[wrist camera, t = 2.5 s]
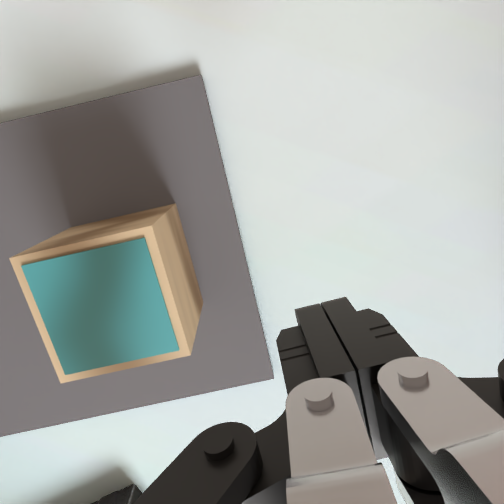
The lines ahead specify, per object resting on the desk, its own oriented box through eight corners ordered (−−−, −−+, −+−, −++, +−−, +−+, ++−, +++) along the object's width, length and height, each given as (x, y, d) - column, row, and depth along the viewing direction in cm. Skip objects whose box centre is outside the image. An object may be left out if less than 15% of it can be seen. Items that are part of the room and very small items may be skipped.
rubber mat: (201, 76, 20) (200, 74, 20) (273, 373, 25) (274, 378, 25) (-229, 180, 21) (-243, 181, 21) (-81, 448, 26) (-88, 455, 25)
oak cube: (175, 203, 22) (150, 226, 16) (203, 302, 23) (190, 356, 17) (70, 227, 22) (7, 258, 16) (105, 324, 23) (59, 384, 18)
